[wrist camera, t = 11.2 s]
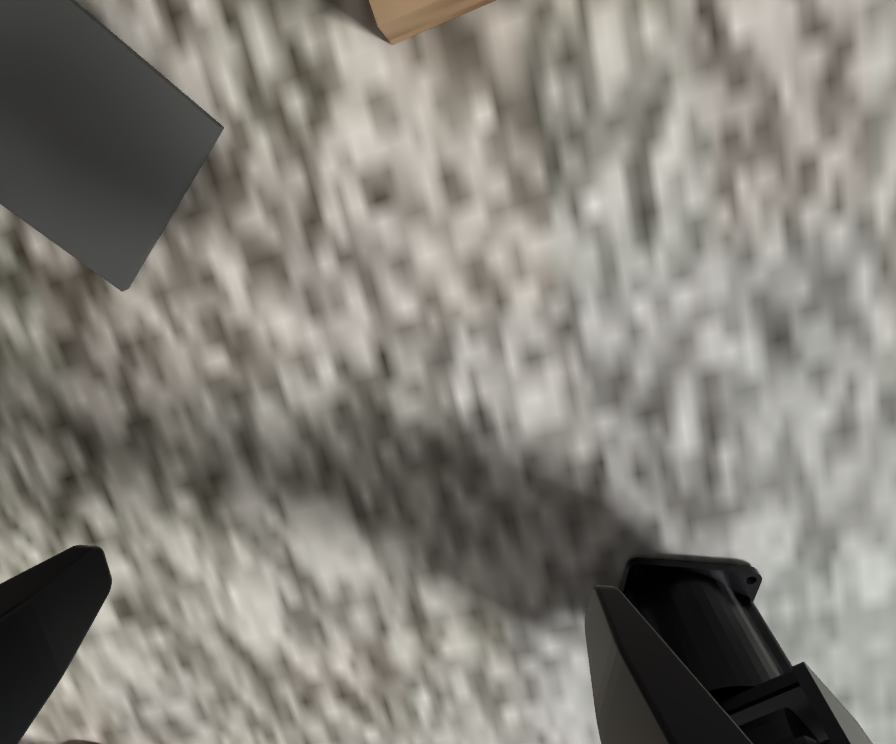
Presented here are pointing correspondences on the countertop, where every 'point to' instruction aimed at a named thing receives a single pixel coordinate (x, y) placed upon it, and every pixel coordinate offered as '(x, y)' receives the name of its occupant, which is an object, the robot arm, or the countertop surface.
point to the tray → (417, 15)
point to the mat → (92, 137)
